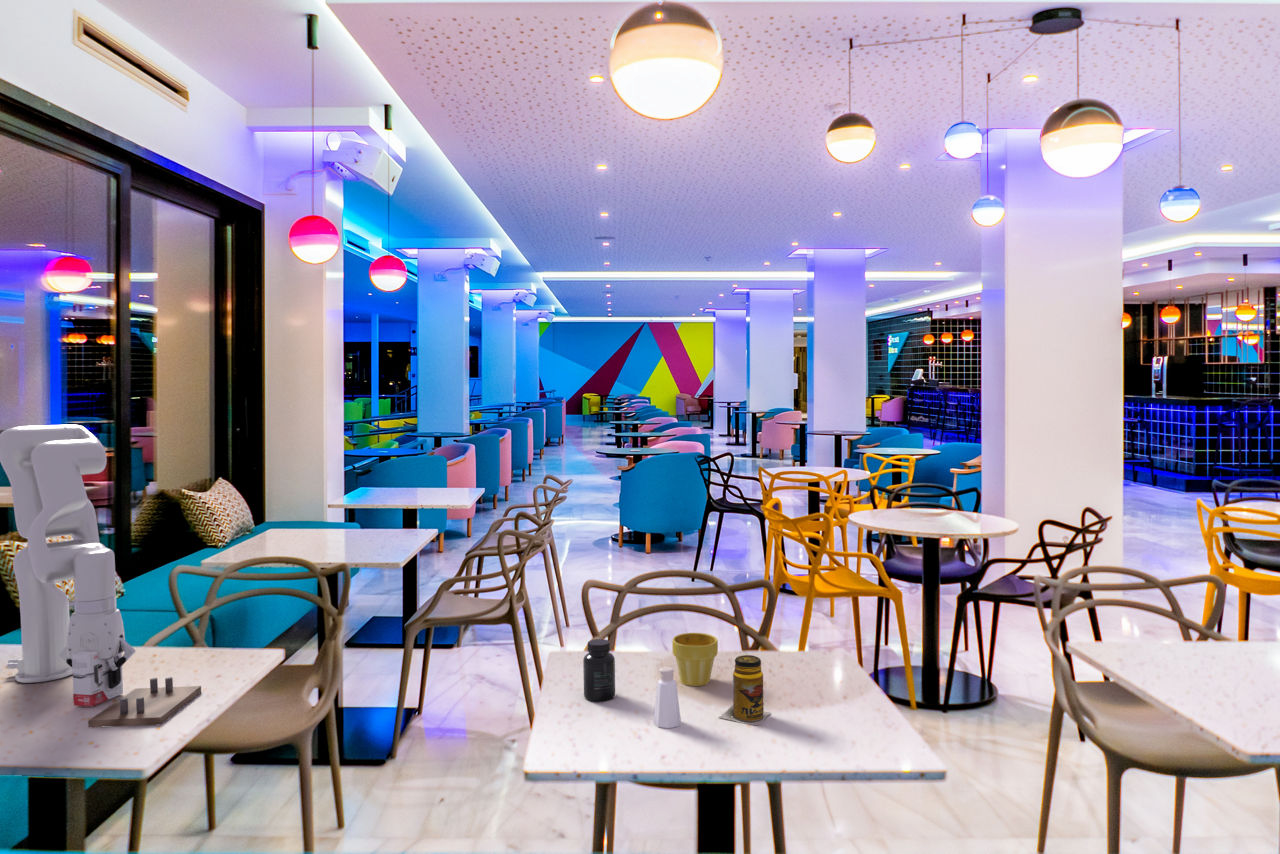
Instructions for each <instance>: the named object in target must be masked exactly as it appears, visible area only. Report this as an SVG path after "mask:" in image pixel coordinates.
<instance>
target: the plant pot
mask: <svg viewBox="0 0 1280 854" xmlns="http://www.w3.org/2000/svg"><path fill="white" fill-rule="evenodd" d="M671 642H672V644H671V647H672V655H674V657H675V661H676V666H677V671H678V675H679V680H680V682H681V684H683V685H686V686H689V687H690V686H691V687H701V686H706V685H707V684H709V682H710V680H711V677H712V676H711V675H712V671H713V666H714V662H715V657H717V656H718V652H719V651H718V650H719V642H718V638H717V637H716V636H715V635H712V634H710V633H709V634H708V633H702V632H685V633H679V634H677V635H675V636H674V637H673V638H672V640H671Z"/></svg>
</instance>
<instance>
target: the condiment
mask: <svg viewBox="0 0 1280 854" xmlns="http://www.w3.org/2000/svg"><path fill="white" fill-rule="evenodd" d="M732 673H733V674H732V677H733V678H732V683H733V684H732V686H733V689H732V690H733V691H732V694H733V697H732V700H733V701H732V702H733V704H732V705H731V706H730V707H728V709H726V710H725V711H724V712H723V713H722V714H721V715H720V716H718V718H719V719H724V720H729V721H733V722H738V723H741V724H747V725H751V726H759V725H760V724H761V723H762V722H763V721H765V719H766V718H767V717H768V716H769V715H770V714H771V713H772V712H770V711H764V704H765V703H764V673H763V671H762V659H761V658H760V657H758V656H755V655H750V654H744V655H739V656H737V657H736V658H735V659H734V670H733V672H732Z"/></svg>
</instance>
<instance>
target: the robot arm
mask: <svg viewBox="0 0 1280 854" xmlns="http://www.w3.org/2000/svg"><path fill="white" fill-rule="evenodd" d="M107 459H108V458H107V453H106V450H105V447H104V446H103V444H102V443H101V441H100V440H99V438H98V437H96V436H95V435H94V434H93V433H92V432H90V431H89V430H88V429H87V428H86V427H84V426H83V425H79V424H49V425H48V424H47V425H44V424H43V425H42V424H40V425H39V424H37V425H36V424H35V425H20V426H15V427H10V428H7V429H5V430H3V431H2V432H0V464H1V467H2V469H3V471H4V472H5V474H6V476H7V479H8V481H9V483H10V488H11V495H12V502H13V510H14V518H15V519H14V520H15V525H16V529H17V532H18V534H19V535H20V537H22V538H23V539H27V546H26V547H24V548H21V549H20V550H19V551H17V553H16V554H15V555H14V557H13V561H12V566H13V572H14V576H15V580H16V584H17V590H18V598H19V599H18V600H19V613H20V631H21V635H20V636H21V653H22V657H21V658H18V657H16V658H15V657H13V658H9V660H8V661H7V664H6V669H7V670H9V669H10V670H12V669H17V672H16V674H15V675H14V680H15V681H16V682H19V683H20V684H21V683H23V684H34V683H35V684H36V683H42V682H49V681H55V680H60V679H62V678H66V677H69V676H71V675H73V670H72V653H74V651H85V652H98V659H99V660H105V659H107V661H108V663H109V666H110V668H111V670H110V671H109V672H108V682H109V688H110V689H113V688H114V687H116V686H117V685H119V684H120V681H121V666H122V667H123V666H124V665H125V663H126V662H127V661H128V660H129V659H130V658H131V657H132V656H133V655H135V653H136V650H135V648H134V647H132V646H131V644H129V643H128V641H126V637H125V628H124V621H123V618H122V614H121V611H120V609H119V608H117V593H116V592H117V591H116V589H117V588H116V562H115V561H116V560H115V559H116V558H115V552H114V550H112V549H111V548H108V547H106V546H105V545H104V544H103V543H101V542H100V536H99V535H100V534H99V529H98V521H97V515H96V510H95V507H94V505H93V503H92V501H91V500H90V499H89V497H88V495H87V491H86V488H85V484H84V481H83V477H82V476H83V475H95V474H100V473H102V472H103V471H104V470H105V469H106V466H107V461H108V460H107ZM61 536H62V537H64V536H71V537H72V539H70V540H64V541H54V542H47V539H46V538H57V537H61ZM66 581H73V583H74V584H73V588H74V590H73V591H74V599H73V600H69V598H68V596H67V594H66V593H65V592H64V591H63V590H62V589H60V588H59V587H58V586H57V583H59V582H66ZM70 608H74V609H73V610H74V612H73V613H70ZM119 653H122V654H123V653H124V654H123V655H122V657H120V655H119Z"/></svg>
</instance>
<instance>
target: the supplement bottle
mask: <svg viewBox="0 0 1280 854" xmlns="http://www.w3.org/2000/svg"><path fill="white" fill-rule="evenodd" d="M586 649H587V653H586V654H585V655H584V657H583V660H582V661H583V662H582V667H583V697H584V698H585V699H586V700H587V701H589V702H593V703H603V702H608V701H610V700H613V699H614V698H615V696H616V664H615V663H616V659H615V656H614V655H613V654H612V652H610V651H611V642H610V640H608V639H604V638H595V639H590V640H589V641H587V648H586Z"/></svg>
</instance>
